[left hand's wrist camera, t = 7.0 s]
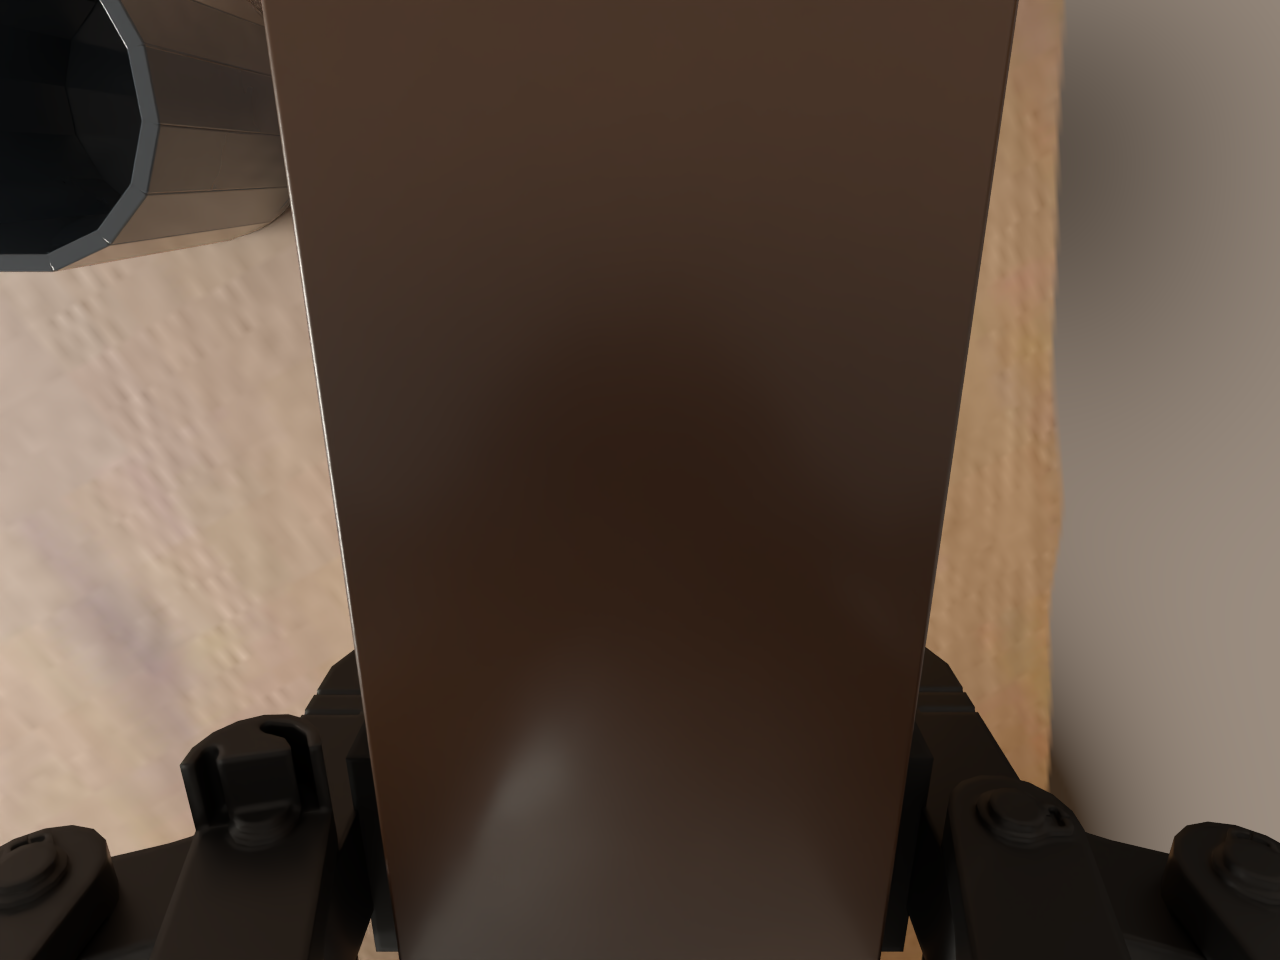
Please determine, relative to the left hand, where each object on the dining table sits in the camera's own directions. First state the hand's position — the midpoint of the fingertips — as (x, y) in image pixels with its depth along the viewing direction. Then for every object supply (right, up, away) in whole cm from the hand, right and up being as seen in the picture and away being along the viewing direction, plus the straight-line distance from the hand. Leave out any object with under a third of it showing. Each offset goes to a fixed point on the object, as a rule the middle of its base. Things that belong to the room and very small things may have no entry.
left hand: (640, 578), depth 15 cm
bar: (0, +9, -3) cm, 9 cm away
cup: (-14, +13, +11) cm, 22 cm away
